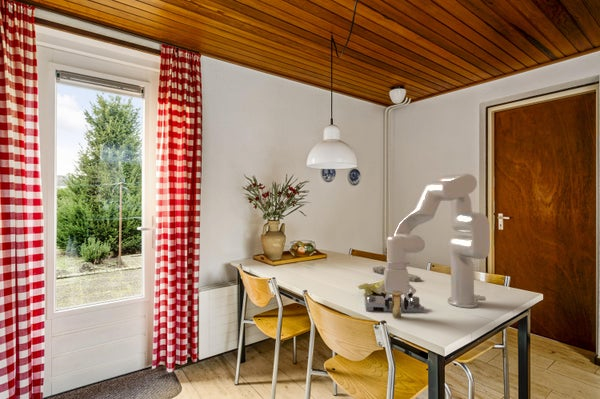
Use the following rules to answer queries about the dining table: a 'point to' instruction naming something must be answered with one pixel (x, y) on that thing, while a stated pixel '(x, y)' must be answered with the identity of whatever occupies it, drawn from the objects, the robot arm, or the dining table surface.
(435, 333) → the dining table surface
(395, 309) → the brass pin
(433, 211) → the robot arm
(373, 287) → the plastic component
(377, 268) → the elongated rock
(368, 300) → the grey mechanical device
